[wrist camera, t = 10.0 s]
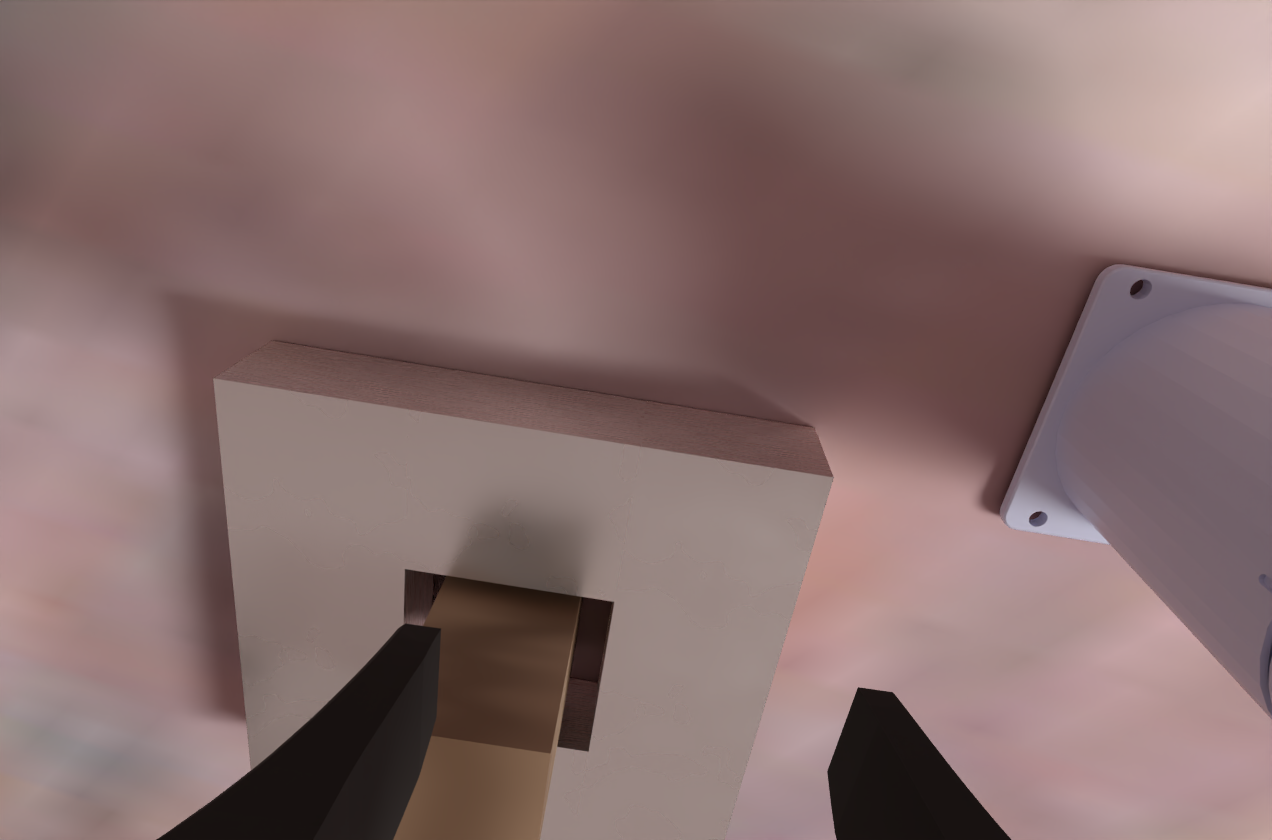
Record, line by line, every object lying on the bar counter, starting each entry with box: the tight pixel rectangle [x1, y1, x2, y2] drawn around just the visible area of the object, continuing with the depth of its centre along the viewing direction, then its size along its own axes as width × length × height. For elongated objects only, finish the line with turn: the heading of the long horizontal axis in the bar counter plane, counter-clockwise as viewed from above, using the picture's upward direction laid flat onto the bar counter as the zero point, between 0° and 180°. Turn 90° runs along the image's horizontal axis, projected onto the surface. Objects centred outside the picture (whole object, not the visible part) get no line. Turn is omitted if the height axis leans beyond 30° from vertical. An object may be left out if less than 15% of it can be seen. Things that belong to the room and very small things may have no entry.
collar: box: [213, 341, 834, 840], centre depth 24 cm, size 16×16×3 cm
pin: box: [393, 576, 583, 840], centre depth 21 cm, size 4×4×8 cm
